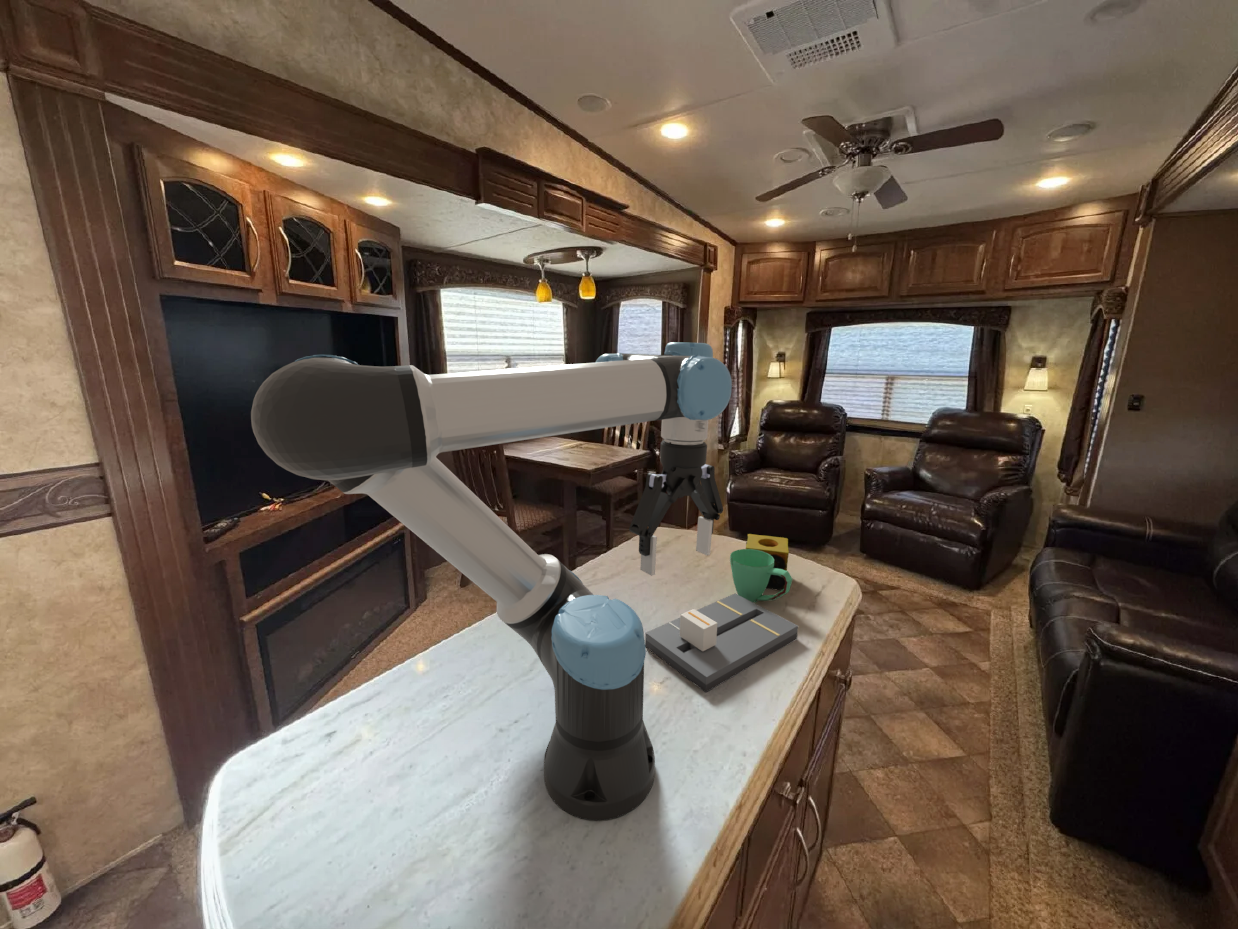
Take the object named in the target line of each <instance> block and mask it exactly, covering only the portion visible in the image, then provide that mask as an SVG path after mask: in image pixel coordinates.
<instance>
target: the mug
mask: <svg viewBox="0 0 1238 929" xmlns="http://www.w3.org/2000/svg"><path fill="white" fill-rule="evenodd" d="M729 555H730V556H729V563H730V567H731V568H730V569H731V573H732V574H731V575H732V579H733V580H732V581H733V585H734V587H735V591H736V594H737V595H739V596H741V597H743V598H745V599H747V600H749V601H751V602H753V603H758V602H759V601H761V602H764V601H765V602H768V601H771V602H773V601H775V600H777V599H780V598H781V597H783V596H784V595H786V594H789V593H790V589H791V586H792V583H793V577H792V575H791V573H790V572H789V571H788V570H787V571H785V570H783V569H777V568H773V567H774V558H773V557H772V556H771V555H769V554H768V553H765V552H763V551H759V550H753V549H746V548H742V549H741V548H740V549H736V550H733V551H732V552H731V553H730V554H729ZM770 575H778V576H781V577H783V578H784V580H785V587H784V589H783V590H779V591H778V592H777V593H775V594H764V593H765V591H766V587H767V584H768V582H769V578H770Z"/></svg>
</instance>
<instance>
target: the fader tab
mask: <svg viewBox="0 0 1238 929" xmlns="http://www.w3.org/2000/svg"><path fill="white" fill-rule="evenodd" d="M697 610H698V609H695V608H693V609H690V610H688V611H685V612H684V613H681V614H680V616H679V618H680V636H681V637H682V638H683V639H685V640H686V641H688V642H689V643H690V648H691V649H693V648H695V647H697V648H698V649H700V650H701V651H705V650H707V649H709V648H711V647H713V646H714V645H716V637H717V622H715V621H713V620H712V619H710V618H708V617H707V616H705V615H703V614H702V613H700V612H698V611H697Z"/></svg>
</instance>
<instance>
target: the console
mask: <svg viewBox="0 0 1238 929" xmlns="http://www.w3.org/2000/svg"><path fill="white" fill-rule="evenodd" d="M696 610H697V611H698V612H700V613H702V614H703V615H705V616H707V617H708V618H710V619H712V620H713V621H715V622H717V637H716V645H714V646H713V647H711V648H709V649H707V650H705V651H701V650H700V649H698V648H697V647H695V648H693V649H691V648H690V643H689V642H688V641H686V640H685V639H683V638H682V637H681V636H680V617H678V618H675V619H674V620H671V621H669V622H666V623H664V624H662V625H660V626H658V627H655V628H653V629H650V630H649V631H646V632H644V633H645V634H644V640H645V648H647V649H648V650H649V651H651V652H652V653H653V654H655V655H656V656H657V657H659V658H660V659H661V660H663V661H664V662H666V663H667V664H668V665H669V666H670V667H672V668H673V669H674V670H675V671H677V672H678V673H679V674H681V675H682V676H683V677H685V678H686V679H688V681H689V682H691V683H693V684H694V685H695V686H696V687H697V688H700V689H701V690H702V691H703V692H704V693H707V692H709V691H711V690H712V689H714V688H716V687H718V686H719V685H721V684H723V683H724V682H727V681H728V680H730V679H731V678H733V677H735V676H737V675H738V674H741V673H742V672H744V671H745V670H747V669H748V668H750V667H752V666H753V665H755V664H757V663H759V662H761V661H762V660H764V659H766V658H767V657H769V656H771V655H772V654H774V653H776V652H778V651H779V650H781V649H782V648H785V646H788V645H790V644H791V643H793V642H794V641H797V639H798V631H799V625H797V624H795V623H794V622H792V621H790V620H787V619H786V618H784V617H782V616H780V615H778V614H776V613H774V612H773V611H770V610H768V609H766V608H765V607H762V606H761V605H758V604H757V603H756V602H754V603H753V602H751V601H749V600H747V599H745V598H743V597H741V596H739V595H738V594H737V593H733V594H730V595H728V596H726V597H723V598H722V599H719V600H716V601H714V602H712V603H710V604H707V605H705V606H704V607H701V608H699V609H696Z"/></svg>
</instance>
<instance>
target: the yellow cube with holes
mask: <svg viewBox="0 0 1238 929" xmlns="http://www.w3.org/2000/svg"><path fill="white" fill-rule="evenodd" d="M745 549H753V550H759V551H763V552H765V553H768V554H769V555H771V556H772V557H773V558H774V567H773V568H777V569H783V570H785V571H788V563H789V562H788V561H789V552H790V551H789V550H790V549H789V539H788V538H787V537H781V536H780V537H779V536H771V535H759V534H752V533H747V540H746V542H745ZM784 587H785V580H784V578H783V577H781V576H778V575H770V578H769V582H768V584H767V587H766V589H768V590H769V589H770V590H775V589H777V591H781V590H783V589H784ZM766 589H765V590H766Z"/></svg>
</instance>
